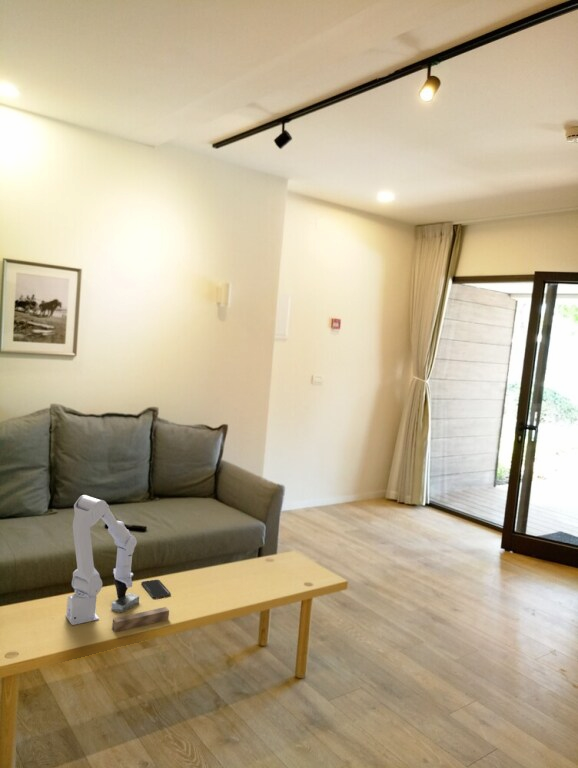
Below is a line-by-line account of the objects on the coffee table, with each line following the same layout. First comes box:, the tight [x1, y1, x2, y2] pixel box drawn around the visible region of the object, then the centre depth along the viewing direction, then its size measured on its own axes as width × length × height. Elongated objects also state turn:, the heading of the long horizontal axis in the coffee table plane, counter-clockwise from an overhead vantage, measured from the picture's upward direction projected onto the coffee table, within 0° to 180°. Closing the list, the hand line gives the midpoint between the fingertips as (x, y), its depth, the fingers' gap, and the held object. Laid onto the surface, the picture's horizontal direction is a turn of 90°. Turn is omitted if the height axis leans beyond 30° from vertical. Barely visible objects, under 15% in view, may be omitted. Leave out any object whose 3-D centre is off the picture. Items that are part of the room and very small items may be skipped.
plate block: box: [111, 592, 140, 614], centre depth 211 cm, size 10×5×3 cm, turn 159°
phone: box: [140, 579, 171, 600], centre depth 227 cm, size 8×1×15 cm
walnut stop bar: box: [111, 606, 170, 633], centre depth 199 cm, size 20×3×4 cm, turn 128°
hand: (120, 598), depth 215 cm, fingers closed
